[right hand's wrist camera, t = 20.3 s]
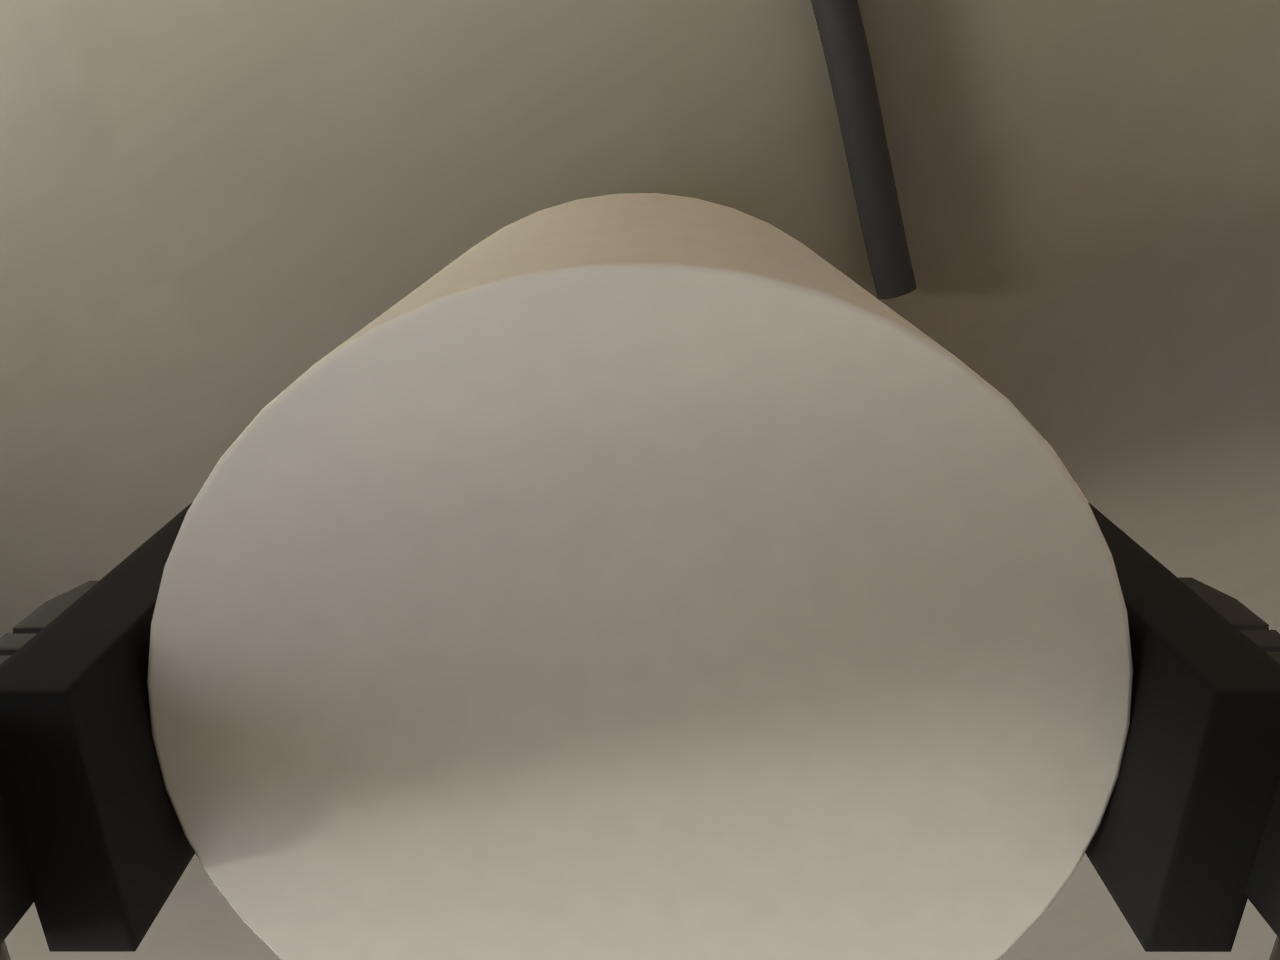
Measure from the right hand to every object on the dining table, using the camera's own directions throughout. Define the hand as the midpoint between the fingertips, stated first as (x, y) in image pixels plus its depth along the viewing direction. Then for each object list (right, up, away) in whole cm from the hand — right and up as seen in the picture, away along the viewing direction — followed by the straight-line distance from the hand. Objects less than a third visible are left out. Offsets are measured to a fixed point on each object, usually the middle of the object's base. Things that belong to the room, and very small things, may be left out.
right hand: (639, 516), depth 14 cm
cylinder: (0, +1, +2) cm, 2 cm away
